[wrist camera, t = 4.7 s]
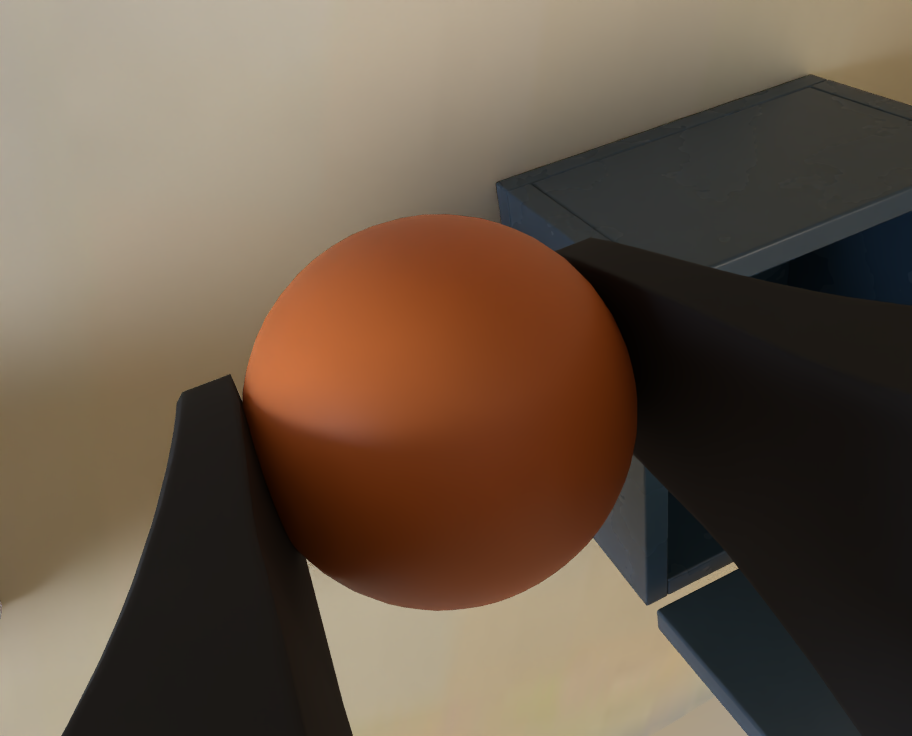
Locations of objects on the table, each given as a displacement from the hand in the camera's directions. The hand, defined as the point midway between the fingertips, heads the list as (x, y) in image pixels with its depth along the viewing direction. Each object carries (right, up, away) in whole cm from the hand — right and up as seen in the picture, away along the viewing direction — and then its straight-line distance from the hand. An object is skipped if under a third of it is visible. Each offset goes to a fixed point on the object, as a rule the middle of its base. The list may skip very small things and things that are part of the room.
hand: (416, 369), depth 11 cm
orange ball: (0, -1, -1) cm, 1 cm away
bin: (+7, +3, +15) cm, 16 cm away
